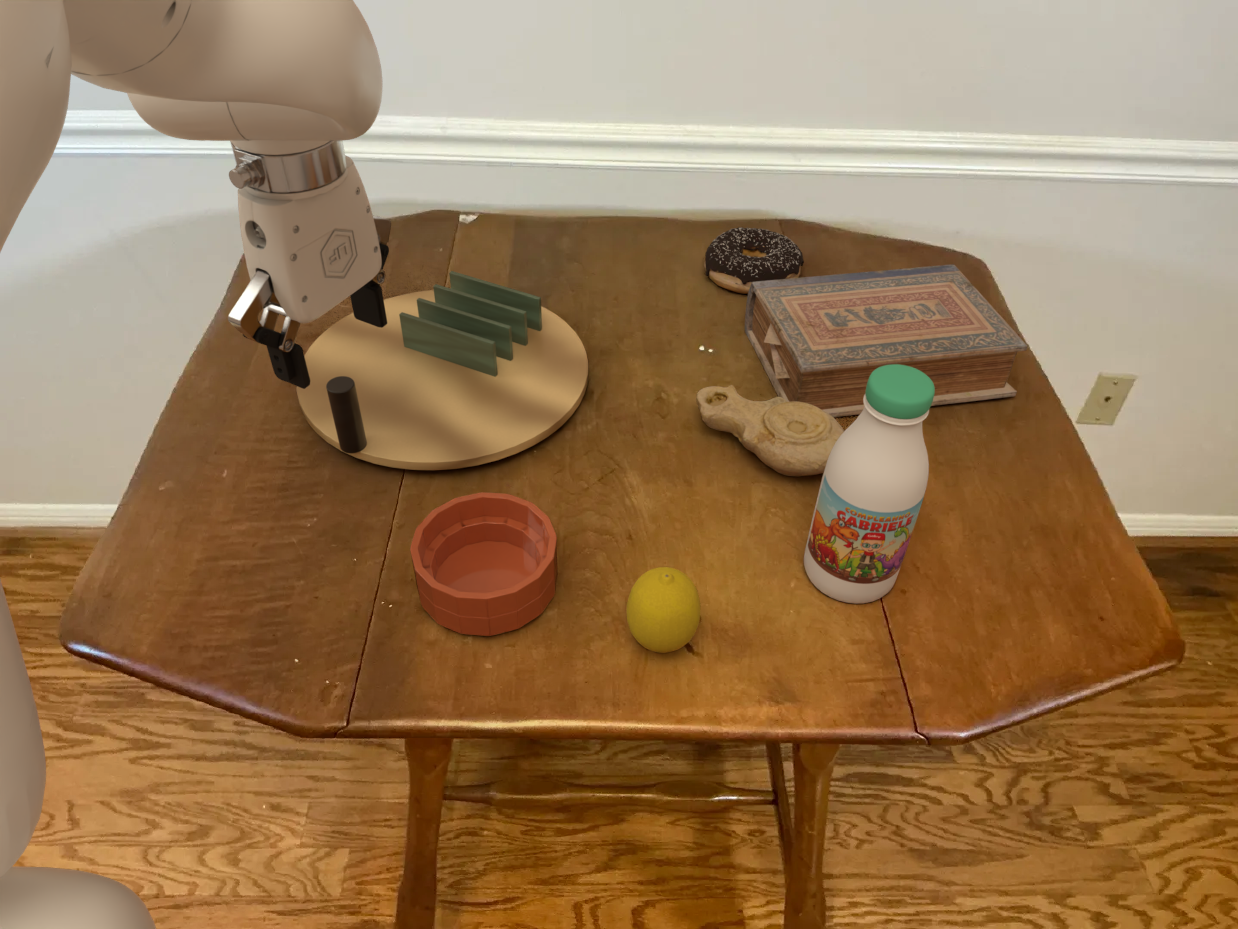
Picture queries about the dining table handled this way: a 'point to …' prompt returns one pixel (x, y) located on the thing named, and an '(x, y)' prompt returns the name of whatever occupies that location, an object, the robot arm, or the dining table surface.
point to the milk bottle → (872, 490)
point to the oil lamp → (773, 429)
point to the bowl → (485, 563)
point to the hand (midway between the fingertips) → (334, 350)
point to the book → (879, 335)
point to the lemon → (663, 609)
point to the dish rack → (445, 378)
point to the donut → (751, 258)
